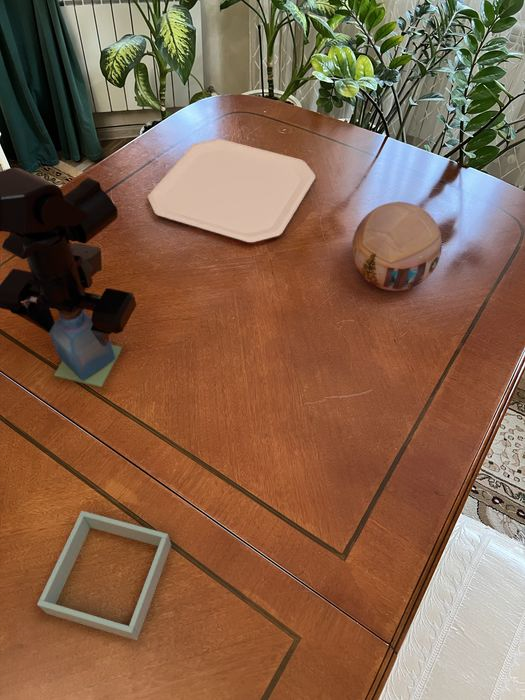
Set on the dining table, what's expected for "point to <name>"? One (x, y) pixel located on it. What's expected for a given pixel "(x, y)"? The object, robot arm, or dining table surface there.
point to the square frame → (69, 558)
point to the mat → (94, 379)
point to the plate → (233, 190)
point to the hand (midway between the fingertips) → (79, 338)
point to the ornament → (396, 246)
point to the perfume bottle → (79, 343)
